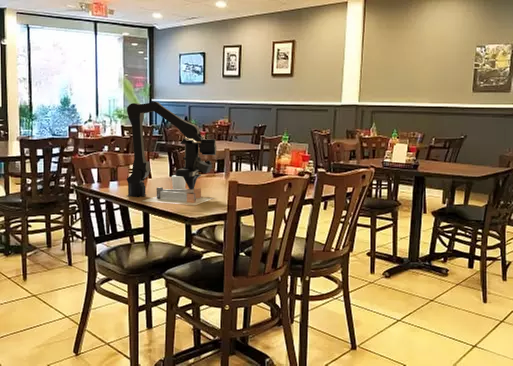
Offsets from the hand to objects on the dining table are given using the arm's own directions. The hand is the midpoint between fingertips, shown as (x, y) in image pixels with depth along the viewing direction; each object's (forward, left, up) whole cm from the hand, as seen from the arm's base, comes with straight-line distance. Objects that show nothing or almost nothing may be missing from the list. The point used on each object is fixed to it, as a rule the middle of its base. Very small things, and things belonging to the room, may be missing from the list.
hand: (191, 191), depth 221 cm
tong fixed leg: (-1, -12, -2) cm, 12 cm away
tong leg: (-3, -6, -2) cm, 7 cm away
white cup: (-15, +17, -3) cm, 23 cm away
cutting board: (-2, -9, -3) cm, 9 cm away
